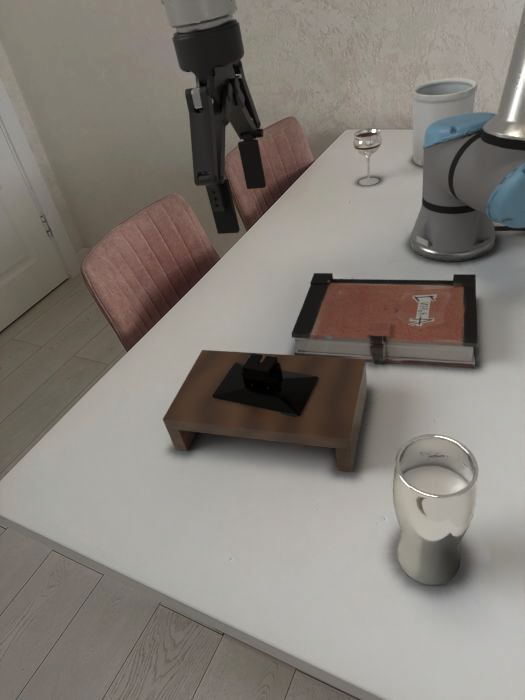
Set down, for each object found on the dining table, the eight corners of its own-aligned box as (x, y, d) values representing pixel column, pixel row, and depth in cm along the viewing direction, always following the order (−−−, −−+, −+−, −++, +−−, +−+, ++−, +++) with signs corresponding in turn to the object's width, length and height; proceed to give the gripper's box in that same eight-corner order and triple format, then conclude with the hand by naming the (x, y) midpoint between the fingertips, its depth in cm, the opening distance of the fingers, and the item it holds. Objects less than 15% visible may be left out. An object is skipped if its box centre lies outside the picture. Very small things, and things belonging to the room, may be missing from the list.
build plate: (319, 379, 65) (315, 352, 62) (299, 419, 60) (294, 391, 57) (235, 363, 70) (229, 338, 67) (211, 399, 65) (202, 373, 62)
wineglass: (386, 177, 128) (386, 128, 120) (376, 187, 124) (374, 137, 116) (361, 175, 131) (359, 128, 124) (350, 185, 127) (348, 137, 120)
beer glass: (384, 530, 54) (383, 439, 44) (449, 520, 53) (461, 425, 44) (404, 595, 48) (407, 507, 39) (476, 584, 48) (496, 492, 38)
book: (293, 359, 78) (289, 334, 75) (316, 296, 90) (314, 273, 87) (474, 371, 70) (478, 343, 66) (472, 300, 82) (475, 274, 79)
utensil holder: (478, 163, 125) (486, 86, 114) (417, 172, 126) (419, 98, 116) (460, 145, 136) (466, 74, 125) (405, 154, 138) (406, 84, 127)
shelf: (367, 391, 70) (365, 359, 66) (352, 472, 60) (349, 439, 56) (211, 379, 78) (202, 349, 74) (175, 449, 68) (162, 419, 64)
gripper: (209, 12, 64) (243, 174, 77) (122, 54, 46) (185, 256, 59) (265, 1, 62) (289, 170, 75) (196, 41, 44) (244, 253, 57)
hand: (243, 208), depth 67 cm, fingers open, 13 cm apart
